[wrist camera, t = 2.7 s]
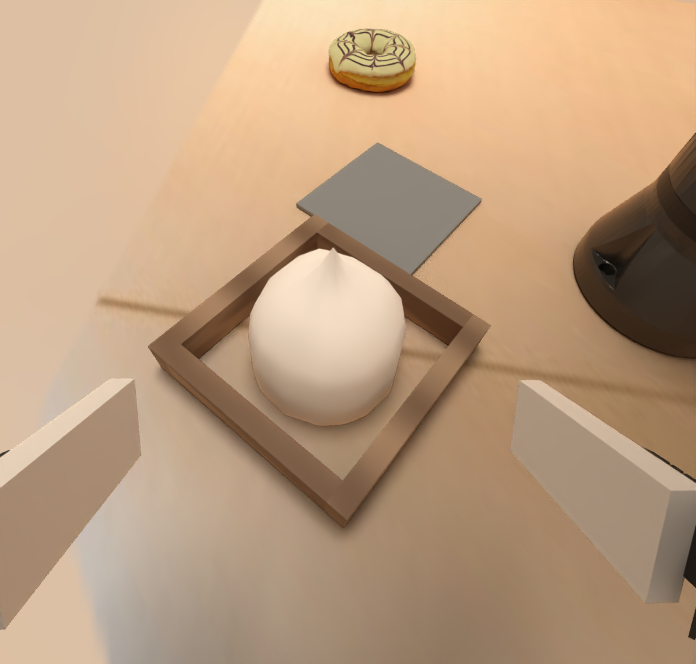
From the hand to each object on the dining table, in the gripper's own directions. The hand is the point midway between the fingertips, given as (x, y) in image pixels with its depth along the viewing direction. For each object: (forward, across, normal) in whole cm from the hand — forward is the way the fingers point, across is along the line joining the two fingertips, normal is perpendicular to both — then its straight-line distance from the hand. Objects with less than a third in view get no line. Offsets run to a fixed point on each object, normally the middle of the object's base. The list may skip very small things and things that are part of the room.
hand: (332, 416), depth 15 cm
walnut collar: (+18, 0, -3) cm, 18 cm away
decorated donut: (+47, +6, +26) cm, 54 cm away
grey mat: (+29, +7, +9) cm, 32 cm away
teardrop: (+18, 0, -3) cm, 18 cm away
